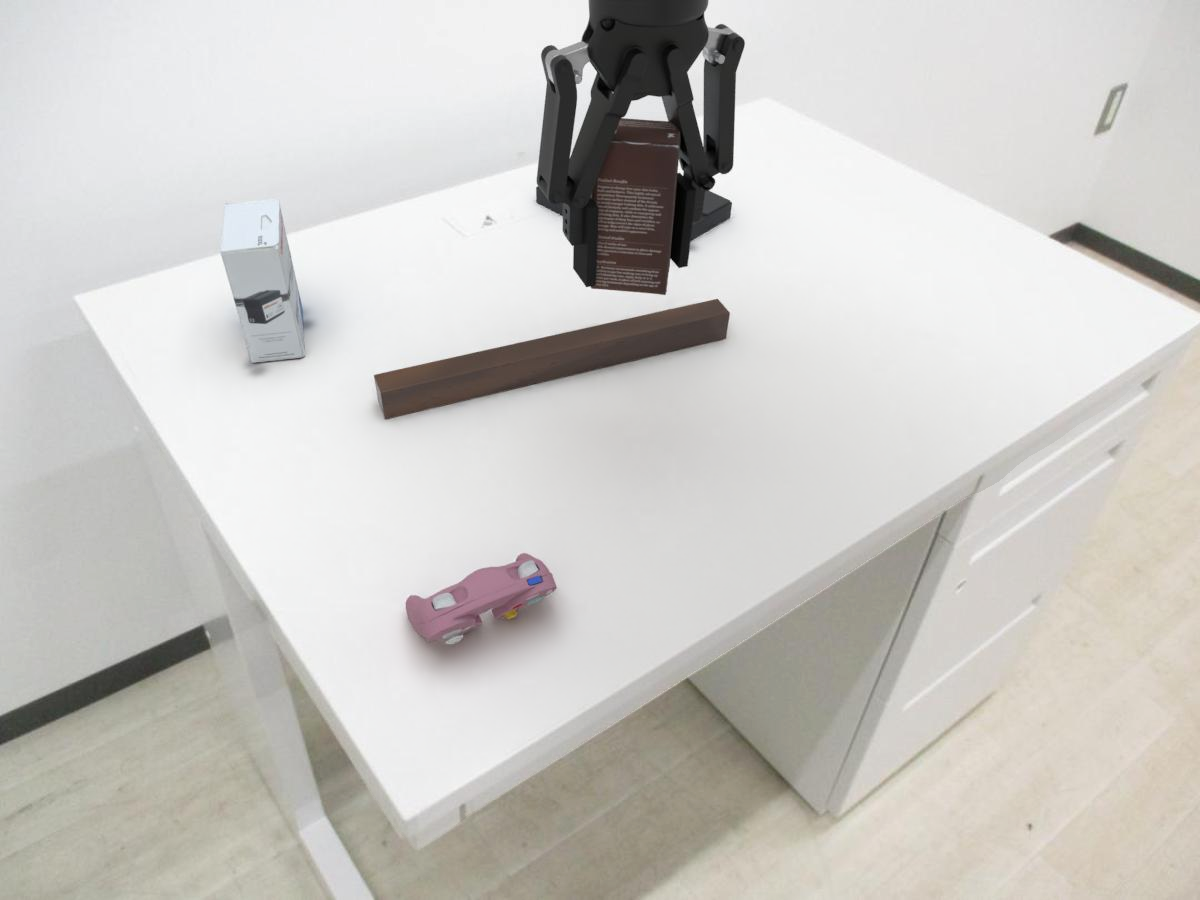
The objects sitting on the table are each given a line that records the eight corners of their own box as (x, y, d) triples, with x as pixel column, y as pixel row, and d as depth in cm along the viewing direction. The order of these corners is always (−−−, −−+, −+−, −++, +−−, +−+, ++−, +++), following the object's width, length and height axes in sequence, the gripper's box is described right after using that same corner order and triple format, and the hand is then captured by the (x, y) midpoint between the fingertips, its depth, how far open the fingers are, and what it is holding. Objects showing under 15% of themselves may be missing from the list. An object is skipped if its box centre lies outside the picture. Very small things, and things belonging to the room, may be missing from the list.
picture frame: (730, 217, 107) (613, 164, 116) (732, 199, 106) (614, 146, 114) (654, 263, 100) (535, 202, 108) (655, 244, 98) (535, 184, 107)
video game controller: (422, 665, 65) (430, 646, 59) (398, 604, 66) (404, 579, 60) (551, 612, 68) (572, 589, 62) (527, 555, 70) (545, 527, 63)
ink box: (251, 311, 91) (222, 200, 83) (304, 305, 92) (280, 195, 84) (248, 365, 85) (217, 251, 77) (305, 358, 86) (279, 246, 78)
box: (669, 266, 75) (684, 119, 67) (665, 298, 72) (680, 148, 63) (594, 259, 75) (599, 112, 67) (587, 290, 72) (591, 140, 64)
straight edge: (726, 338, 91) (730, 312, 89) (384, 419, 81) (380, 392, 79) (714, 324, 92) (717, 298, 90) (378, 401, 82) (373, 374, 80)
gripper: (764, -88, 63) (721, 221, 78) (474, -64, 57) (491, 266, 72) (826, -55, 58) (767, 268, 73) (515, -24, 52) (524, 320, 67)
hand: (630, 267), depth 73 cm, fingers closed on box, 7 cm apart
